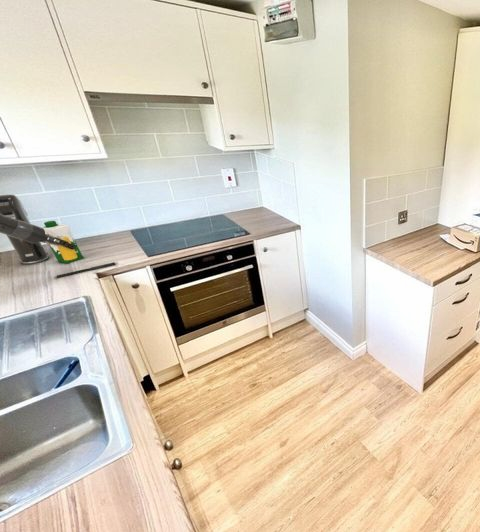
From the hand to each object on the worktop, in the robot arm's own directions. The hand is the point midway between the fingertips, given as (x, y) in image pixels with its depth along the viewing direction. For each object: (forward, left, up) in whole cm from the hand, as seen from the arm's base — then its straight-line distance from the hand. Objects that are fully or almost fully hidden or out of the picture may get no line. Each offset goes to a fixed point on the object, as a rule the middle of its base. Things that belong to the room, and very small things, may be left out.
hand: (70, 246), depth 151 cm
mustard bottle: (+1, -2, -5) cm, 5 cm away
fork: (+5, +2, -11) cm, 13 cm away
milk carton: (-15, -3, -12) cm, 19 cm away
